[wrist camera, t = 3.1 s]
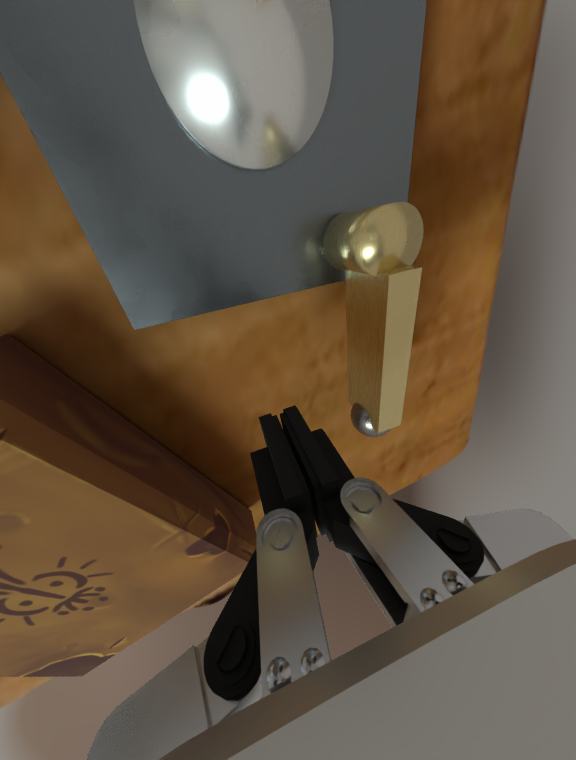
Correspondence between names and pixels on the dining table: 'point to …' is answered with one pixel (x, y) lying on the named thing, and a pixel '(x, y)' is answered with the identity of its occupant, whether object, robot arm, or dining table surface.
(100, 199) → the levelling plate
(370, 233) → the brass lever
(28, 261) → the dining table surface
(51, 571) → the diary
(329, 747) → the robot arm
